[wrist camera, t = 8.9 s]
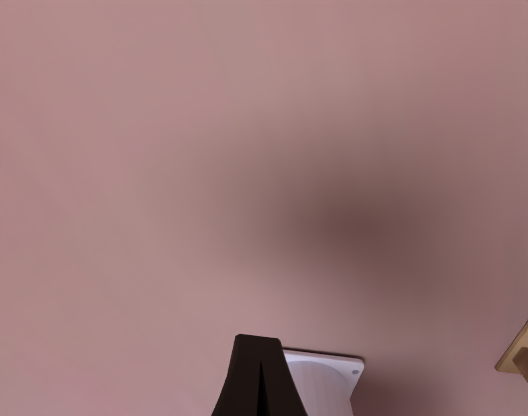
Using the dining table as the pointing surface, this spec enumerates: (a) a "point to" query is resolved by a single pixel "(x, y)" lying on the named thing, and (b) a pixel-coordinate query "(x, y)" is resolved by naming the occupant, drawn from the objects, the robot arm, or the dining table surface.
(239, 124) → the dining table surface
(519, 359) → the chute
